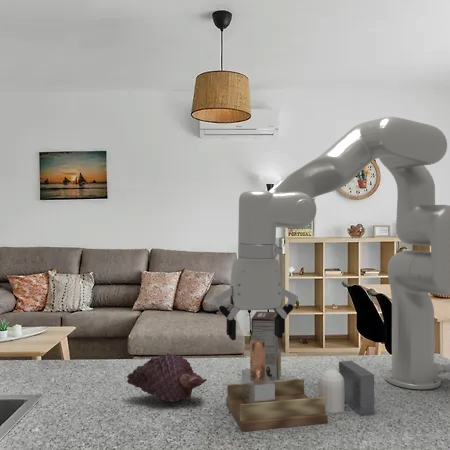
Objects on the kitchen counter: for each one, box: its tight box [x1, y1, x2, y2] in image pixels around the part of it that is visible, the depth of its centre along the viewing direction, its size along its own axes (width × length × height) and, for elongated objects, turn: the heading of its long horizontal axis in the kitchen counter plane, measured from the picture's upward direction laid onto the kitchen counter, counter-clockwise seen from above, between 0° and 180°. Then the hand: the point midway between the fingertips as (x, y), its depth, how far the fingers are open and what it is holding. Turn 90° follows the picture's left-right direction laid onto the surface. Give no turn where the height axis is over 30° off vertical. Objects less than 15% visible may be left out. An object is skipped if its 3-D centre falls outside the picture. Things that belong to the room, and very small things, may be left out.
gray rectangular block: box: [338, 360, 375, 416], centre depth 105 cm, size 3×10×8 cm, turn 12°
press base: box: [225, 378, 329, 433], centre depth 101 cm, size 17×14×4 cm
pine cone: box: [126, 353, 208, 403], centre depth 108 cm, size 18×10×10 cm, turn 85°
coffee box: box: [250, 310, 282, 381], centre depth 121 cm, size 9×6×16 cm
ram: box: [241, 340, 275, 404], centre depth 100 cm, size 4×10×13 cm, turn 12°
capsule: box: [318, 368, 346, 414], centre depth 104 cm, size 5×5×8 cm
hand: (255, 337), depth 100 cm, fingers open, 9 cm apart
